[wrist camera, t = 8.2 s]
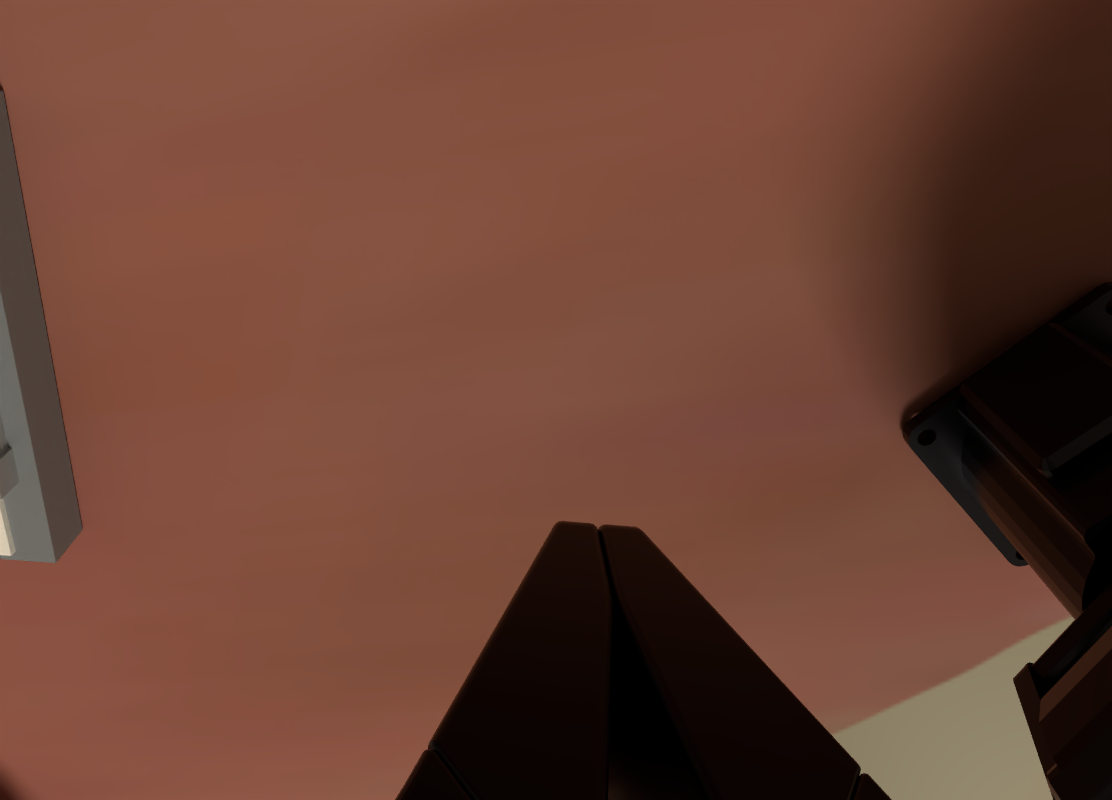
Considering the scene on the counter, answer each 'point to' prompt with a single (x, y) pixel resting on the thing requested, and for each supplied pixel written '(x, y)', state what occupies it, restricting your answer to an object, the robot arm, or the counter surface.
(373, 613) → the counter surface
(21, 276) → the docking station
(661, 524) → the counter surface
